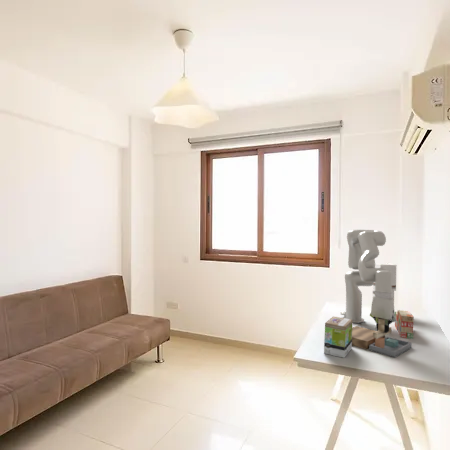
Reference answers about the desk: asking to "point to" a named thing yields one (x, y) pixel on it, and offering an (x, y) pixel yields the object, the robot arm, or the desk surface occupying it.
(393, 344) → the teal block
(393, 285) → the tall white pillar
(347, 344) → the tea box
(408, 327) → the stack of blocks
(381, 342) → the terracotta tile
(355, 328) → the brown wooden board
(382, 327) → the scraper
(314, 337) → the desk surface
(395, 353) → the box
